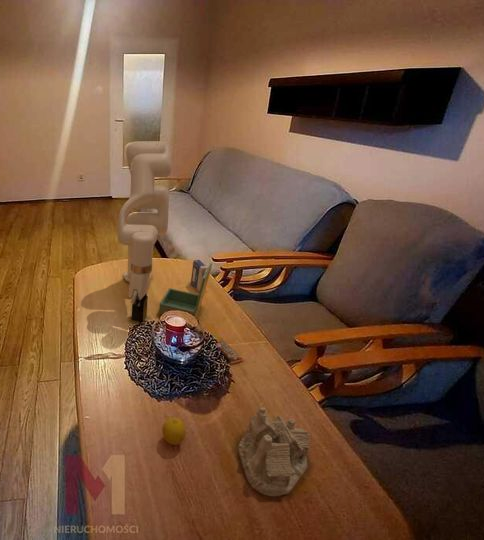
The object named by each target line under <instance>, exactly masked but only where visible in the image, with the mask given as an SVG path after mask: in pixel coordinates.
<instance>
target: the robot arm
mask: <svg viewBox="0 0 484 540" xmlns="http://www.w3.org/2000/svg"><path fill="white" fill-rule="evenodd" d="M124 156H125V157H124V158H125V161H126V164H127V167H128V169H129V173H130V197H129V198H128V200H126V202H125V203H124V204H123V206H122V207H121V208H120V211H119V213H118V218H117V219H118V220H117V240H118V243H119V244H120V245H122V246H127V268H126V269H127V271H126V272H125V273H124V274H123V279H124V281H126V282H127V283H129V287H128V298H131V300H130V303H131V314H132V313H135V314H139V315H140V314H141V305H140V303H141V299H142V298H143V297H144V295H146V296H148V291H149V289H150V285H151V279H152V274H151V273H152V271H153V258H154V246H155V244H156V242H157V241H158V238H159V236H161V235H165V234H166V233H167V231H168V227H169V208H170V193H169V190H168V188H167V187H166V186H164V185H155V180H156V179H155V178H168V177H170V175H171V173H172V169H173V157H172V152H171V145H170V144H169V142H167V141H164V140H161V141H160V140H153V141H149V140H141V141H131V142H128V143H127V144H126V145H125V146H124ZM133 209H136V210H137V209H138V210H156V211H154V212H153V211H135V212H131V211H132V210H133ZM130 212H131V213H130ZM129 213H130V214H129ZM137 296H138V297H137ZM136 299H138V300H139V301H138V302H137V301H136Z"/></svg>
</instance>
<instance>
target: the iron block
mask: <svg viewBox="0 0 484 540" xmlns="http://www.w3.org/2000/svg"><path fill="white" fill-rule="evenodd" d="M137 297H138V296H137ZM148 298H149V296H148V295H147V296H146V295H144V297H143V298H142V299H141V303H140V305H141V314H140V315H139V314H135V313H132V312H131V320H132V321H136V322H138V323H144V321H145V320H146V318H147V316H148V300H149V299H148ZM136 301H137V302H138V301H139V300H138V299H136Z"/></svg>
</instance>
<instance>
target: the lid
mask: <svg viewBox="0 0 484 540" xmlns="http://www.w3.org/2000/svg"><path fill="white" fill-rule="evenodd" d="M212 266H213V263H212V262H209V264H208V266H207V267H208V268H207V270H206V272H205V275H204V277H203V280H202V284H201V288H200V291H198V299H197V303H196V307H195V311H197V310H198V308H199V306H200V303H201V301H202V302H203V299H204V296H205V292H206V289H207V285H208V282H209V279H210V274H211V270H212Z"/></svg>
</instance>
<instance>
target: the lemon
mask: <svg viewBox="0 0 484 540" xmlns="http://www.w3.org/2000/svg"><path fill="white" fill-rule="evenodd" d="M162 436H163V439H164V440H165V442H166V443H167V444H169V445H172V446H178V445H180V444H182V443H183V441H184V440H185V438H186V426H185V424H184V422H183V420H182V419H180V418H178V417H175V416H171V417H169V418H167V419H166V420H165V421H164V423H163V425H162Z"/></svg>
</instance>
